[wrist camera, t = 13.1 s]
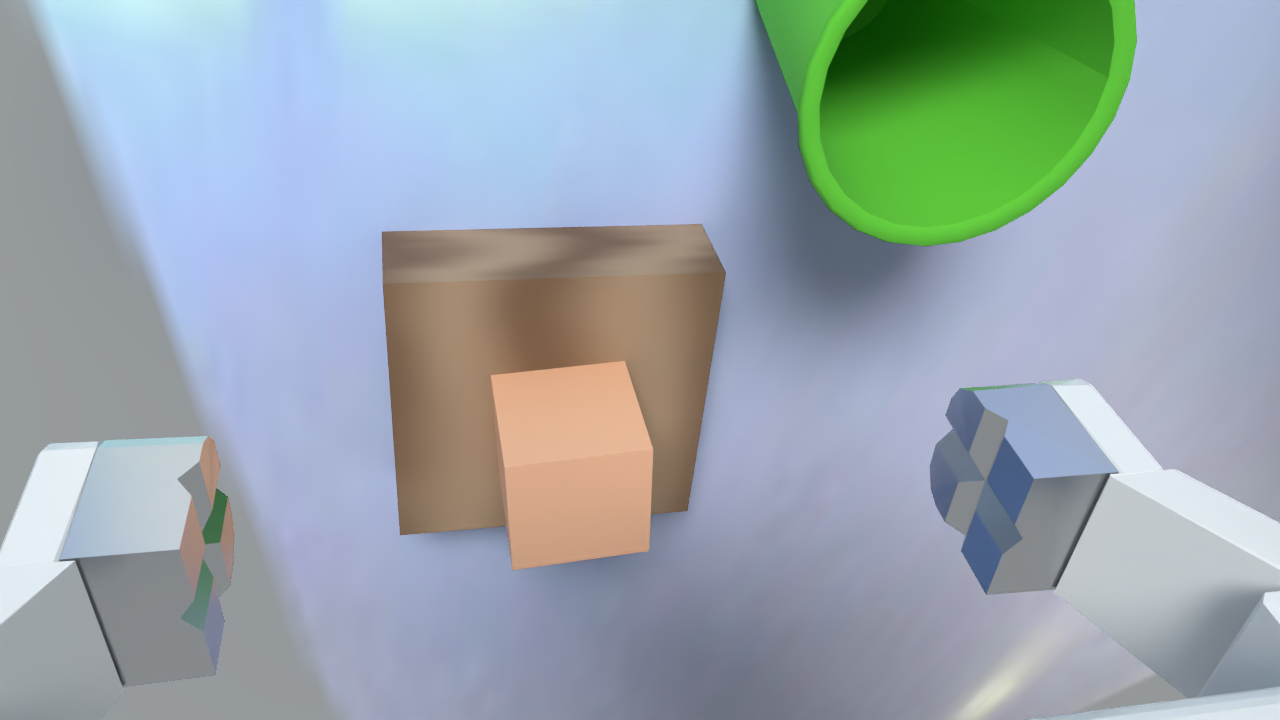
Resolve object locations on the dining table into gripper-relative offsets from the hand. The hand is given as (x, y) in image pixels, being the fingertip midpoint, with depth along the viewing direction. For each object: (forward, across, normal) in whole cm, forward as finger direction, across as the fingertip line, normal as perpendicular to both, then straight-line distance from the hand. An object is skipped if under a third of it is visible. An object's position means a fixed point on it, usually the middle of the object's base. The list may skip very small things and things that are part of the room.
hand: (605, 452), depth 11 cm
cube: (+22, -3, +18) cm, 29 cm away
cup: (+26, -12, +2) cm, 28 cm away
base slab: (+26, -2, +18) cm, 31 cm away
